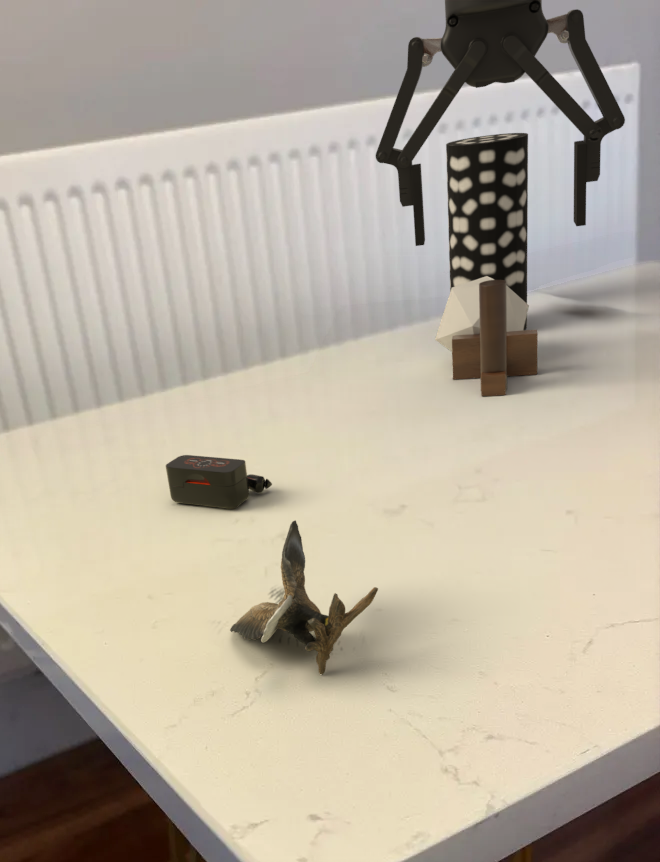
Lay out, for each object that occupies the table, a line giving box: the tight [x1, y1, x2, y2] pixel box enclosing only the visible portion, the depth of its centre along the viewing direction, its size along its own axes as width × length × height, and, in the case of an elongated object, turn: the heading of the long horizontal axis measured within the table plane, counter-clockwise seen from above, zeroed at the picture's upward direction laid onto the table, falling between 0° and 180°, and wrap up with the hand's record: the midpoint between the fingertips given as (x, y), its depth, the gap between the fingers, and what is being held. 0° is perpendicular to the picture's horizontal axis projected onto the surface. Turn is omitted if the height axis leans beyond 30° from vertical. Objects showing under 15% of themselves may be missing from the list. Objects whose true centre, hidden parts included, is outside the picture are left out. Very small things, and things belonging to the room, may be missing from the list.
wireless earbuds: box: [165, 454, 273, 510], centre depth 82 cm, size 5×7×3 cm, turn 57°
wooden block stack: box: [451, 280, 539, 397], centre depth 97 cm, size 8×8×10 cm
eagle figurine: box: [229, 519, 379, 675], centre depth 59 cm, size 8×7×9 cm
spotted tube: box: [445, 132, 529, 330], centre depth 112 cm, size 8×8×20 cm
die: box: [434, 276, 530, 353], centre depth 104 cm, size 8×9×10 cm
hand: (498, 233), depth 91 cm, fingers open, 13 cm apart
